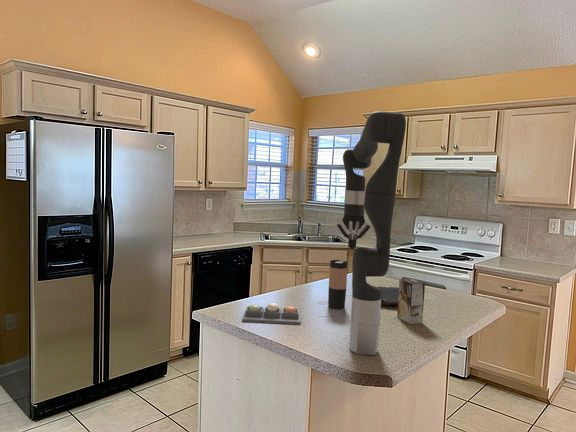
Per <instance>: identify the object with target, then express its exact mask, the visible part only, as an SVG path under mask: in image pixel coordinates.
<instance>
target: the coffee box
mask: <svg viewBox="0 0 576 432" xmlns="http://www.w3.org/2000/svg"><path fill="white" fill-rule="evenodd" d="M398 287H399V295H398V305H397V315H396V317H397V318H398V319H399V320H400V321H401V320H402V321H404V322H405V323H407V324H409V325H415V324H416V325H417V324H422V323H423V320H424V319H423V318H424V305H425V291H426V288H425V287H426V283H425V282H422V281H420V280H416V279H413V278H399V281H398Z"/></svg>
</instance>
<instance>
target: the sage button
mask: <svg viewBox="0 0 576 432" xmlns="http://www.w3.org/2000/svg"><path fill="white" fill-rule="evenodd" d="M260 307H261V305H260V304H249V311H260Z"/></svg>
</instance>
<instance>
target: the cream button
mask: <svg viewBox="0 0 576 432" xmlns="http://www.w3.org/2000/svg"><path fill="white" fill-rule="evenodd" d="M266 307H267V311H268V312H278V308H279V304H278V303H274V302H271V303H267V304H266Z"/></svg>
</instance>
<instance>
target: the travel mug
mask: <svg viewBox="0 0 576 432" xmlns="http://www.w3.org/2000/svg"><path fill="white" fill-rule="evenodd" d="M348 264H349V263H348V261H346V260H344V261H341V260H339V259H332V260H330V261H329V273H328V274H329V275H328V292H327V293H328V294H327V295H328V297H327V298H328V300H327V301H328V302H327V306H328V308H329V309H334V310H343V309H345V307H346V296H347V282H348V281H347V280H348V279H347V278H348Z"/></svg>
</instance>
